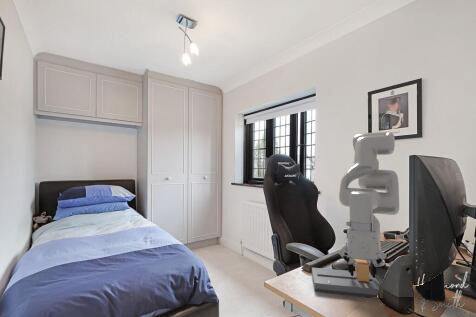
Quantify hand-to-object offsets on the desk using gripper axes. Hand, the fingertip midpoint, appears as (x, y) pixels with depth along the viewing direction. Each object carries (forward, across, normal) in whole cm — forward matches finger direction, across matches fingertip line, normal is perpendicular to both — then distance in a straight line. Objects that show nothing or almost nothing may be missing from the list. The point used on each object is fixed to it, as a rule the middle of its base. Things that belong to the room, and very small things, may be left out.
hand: (362, 274), depth 85 cm
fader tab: (+3, 0, 0) cm, 3 cm away
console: (+5, -6, 0) cm, 8 cm away
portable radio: (+5, +21, -1) cm, 22 cm away
